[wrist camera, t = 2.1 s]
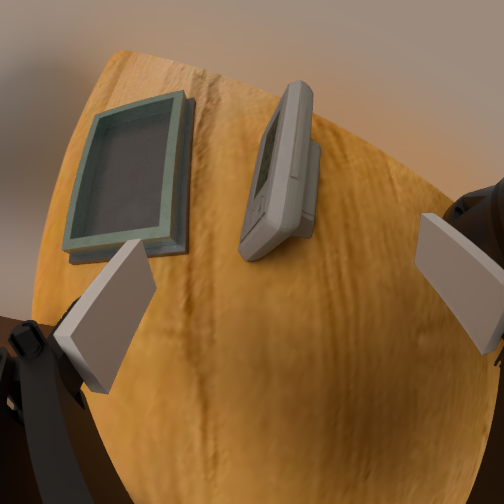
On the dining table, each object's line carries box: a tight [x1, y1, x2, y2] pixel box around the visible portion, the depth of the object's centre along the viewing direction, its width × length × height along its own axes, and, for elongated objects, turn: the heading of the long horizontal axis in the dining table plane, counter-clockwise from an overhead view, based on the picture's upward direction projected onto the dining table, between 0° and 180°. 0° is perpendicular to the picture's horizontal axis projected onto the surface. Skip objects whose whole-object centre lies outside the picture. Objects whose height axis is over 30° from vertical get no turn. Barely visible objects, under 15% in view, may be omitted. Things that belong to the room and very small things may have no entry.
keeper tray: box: [62, 90, 196, 265], centre depth 33 cm, size 16×23×4 cm
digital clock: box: [238, 80, 321, 261], centre depth 26 cm, size 16×9×11 cm, turn 158°
